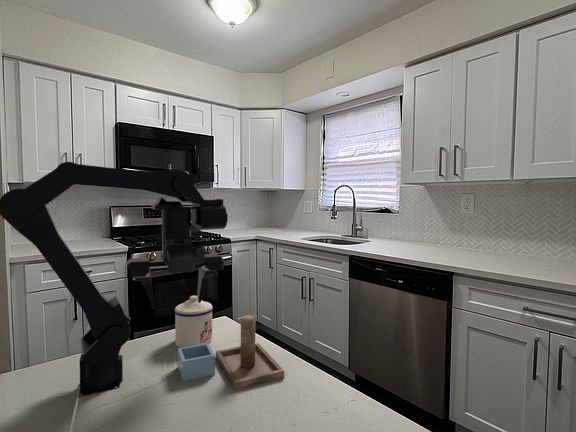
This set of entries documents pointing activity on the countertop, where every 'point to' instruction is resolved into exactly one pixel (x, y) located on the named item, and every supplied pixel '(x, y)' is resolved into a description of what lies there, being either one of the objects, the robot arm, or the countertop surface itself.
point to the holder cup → (196, 362)
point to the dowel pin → (247, 341)
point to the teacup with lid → (193, 323)
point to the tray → (244, 378)
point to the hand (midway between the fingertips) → (176, 305)
